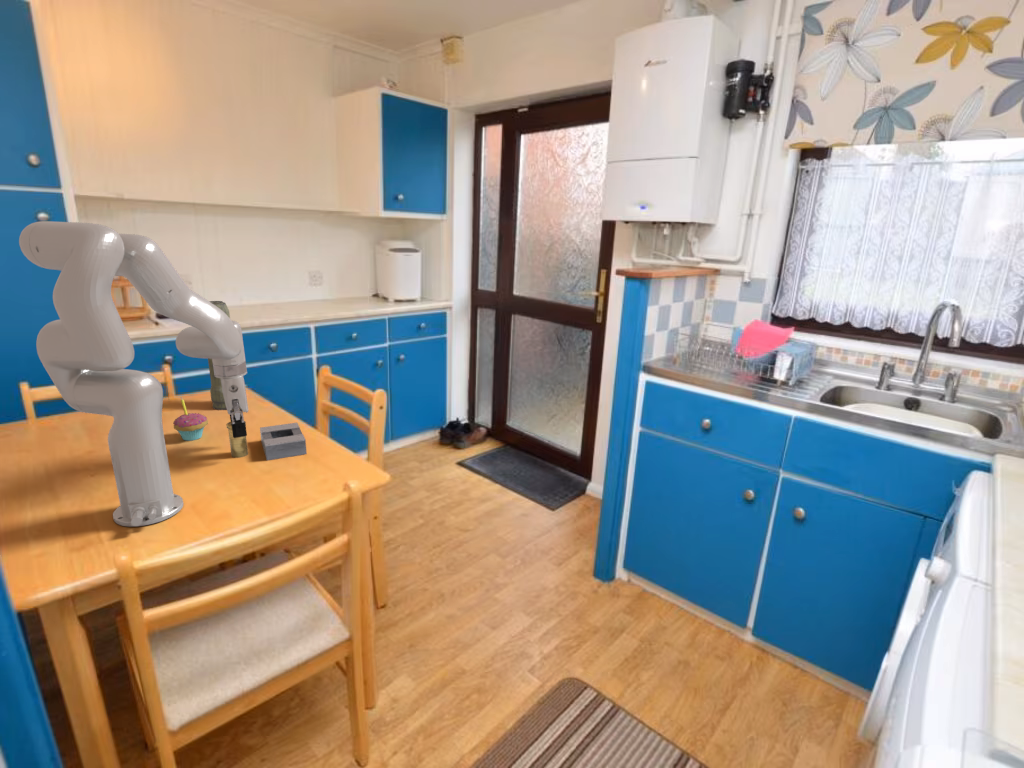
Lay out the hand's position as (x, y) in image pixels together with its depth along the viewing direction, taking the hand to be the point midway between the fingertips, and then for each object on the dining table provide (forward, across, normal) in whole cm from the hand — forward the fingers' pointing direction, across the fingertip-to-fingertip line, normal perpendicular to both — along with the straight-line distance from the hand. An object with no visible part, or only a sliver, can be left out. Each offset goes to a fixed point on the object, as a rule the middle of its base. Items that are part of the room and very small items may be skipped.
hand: (238, 429), depth 143 cm
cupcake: (+7, +17, +12) cm, 22 cm away
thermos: (+8, +43, +2) cm, 44 cm away
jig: (+7, -1, -10) cm, 13 cm away
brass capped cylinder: (+7, -1, +1) cm, 7 cm away
